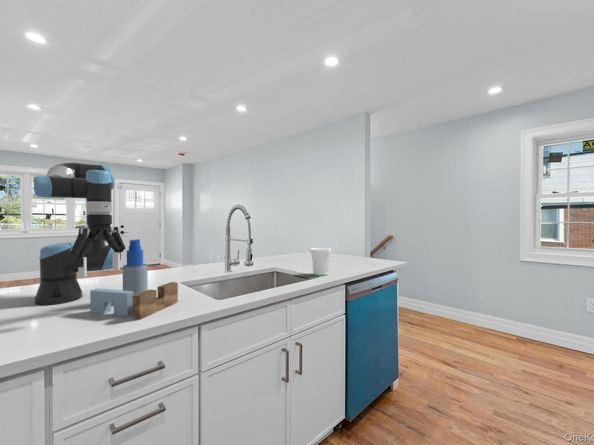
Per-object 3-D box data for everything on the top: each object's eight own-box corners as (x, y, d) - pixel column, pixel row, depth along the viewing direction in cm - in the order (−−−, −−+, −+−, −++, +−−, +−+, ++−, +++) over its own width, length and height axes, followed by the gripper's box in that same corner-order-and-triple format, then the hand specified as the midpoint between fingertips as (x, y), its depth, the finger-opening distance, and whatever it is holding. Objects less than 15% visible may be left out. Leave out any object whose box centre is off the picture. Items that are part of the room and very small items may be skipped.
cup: (332, 276, 166) (332, 250, 166) (310, 276, 166) (310, 249, 166) (329, 272, 179) (330, 247, 178) (309, 272, 179) (309, 247, 178)
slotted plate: (90, 312, 105) (90, 290, 105) (98, 309, 108) (97, 288, 108) (127, 316, 101) (127, 293, 101) (134, 313, 104) (134, 291, 104)
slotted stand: (132, 318, 99) (132, 295, 99) (171, 301, 118) (171, 282, 118) (140, 319, 98) (139, 296, 98) (177, 302, 118) (177, 282, 117)
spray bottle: (138, 296, 126) (137, 238, 125) (152, 298, 122) (152, 239, 121) (117, 301, 118) (117, 240, 117) (132, 304, 114) (132, 241, 113)
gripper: (73, 213, 92) (74, 280, 92) (135, 214, 116) (135, 267, 116) (55, 213, 93) (56, 279, 94) (119, 214, 118) (120, 266, 118)
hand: (100, 272), depth 105 cm, fingers open, 13 cm apart
